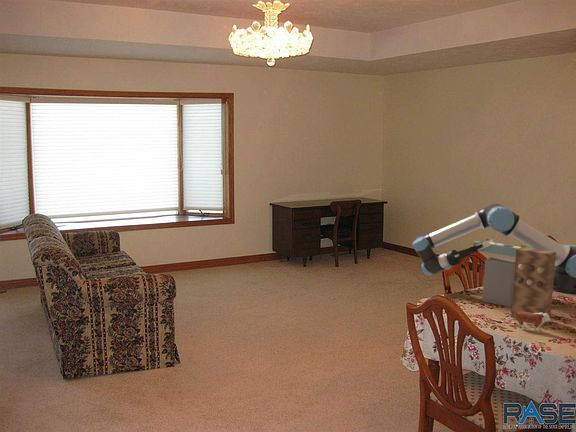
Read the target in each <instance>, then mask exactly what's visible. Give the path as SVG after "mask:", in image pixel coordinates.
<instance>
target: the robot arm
mask: <svg viewBox="0 0 576 432" xmlns="http://www.w3.org/2000/svg"><path fill="white" fill-rule="evenodd" d="M487 228H490V229H491V230H494V231H496V232H497V233H498V232H499V233H501V234H502V235H504V236H505V237H512V238H514V239H516V240H517V241H520V242H521V243H523V244H524V245H526V246H528V248H533V249H539V250H546V251H552V252H556V258H555V270H554V281H553V291H556V292H559V293H565V294H576V245H575V244H561V243H559V242H558V241H556V240H554V239H553V238H552V237H549V236H547V235H545V234H544V233H542V232H541V231H539V230H537V229H536V228H534V227H532V226H531V225H529V224H528V223H526V222H524V221H522V219H521V216H520V215H518V214H517V213H515V212H513V210H511V209H509V208H507V207H506V206H504V205H503V204H500V203H493V204H490V205H487V206H485V207H484V208H481V209H479V210H477V211H475V212H474V214H472V215H469V216H467V217H466V218H465V217H464V218H463V219H461V220H458V221H456V222H454V223H451V224H449V225H447V226H444V227H442V228H440V229H437V230H435V231H433V232H430V233H428V234H425V235H420V236H418V237H417V238H416V239H415V240H414V241H413V242H412V244H411V245H412V247H413V248H414V251H415V252H416V254H417V255H418V256H419V258H420V260H421V261H422V263H421V270H422V273H423V274H424V275H425V276H428V277H429V276H430V277H431V276H433V275H436V274H439V273H441V272H443V271H446V270H448V271H449V270H450V268H452V267H453V268H454V267H455V266H458V265H460V264H461V262H462V259H466V258H468V257H469V256H471V255H472V254H475V253H479V251H477V249H478V250H481V249H483V248H486V247H488V246H491V245H490V243H489V242H492V243H495V241H494V239H493V238H491V239H489V240H486V241H485V240H484V241H485V242H482V243H480V244H478V245H476V246H474V245H473V246H470V247H469V248H466V249H462V250H458V251H457V250H455V249H452V250H449V251H447V252H445V253H442V254H439V255H438V256H437V254H436V252H435V251H434V248H436V247H438V246H442V245H443V244H445V243H448V242H450V241H453V240H455V239H458V238H460V237H462V236H465V235H467V234H470V233H471V232H474V231H476V230H479V229H482V230H485V229H487Z"/></svg>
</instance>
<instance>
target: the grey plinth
mask: <svg viewBox="0 0 576 432" xmlns="http://www.w3.org/2000/svg"><path fill="white" fill-rule="evenodd" d="M514 273H515V260H512V259H506V258H501V257H495V256H492V257H489V258H486V259H485V260H484V273H483V274H484V275H483V288H482V302H486V303H488V304H489V303H490V304H493V305H494V304H495V305H498V306H504V307H507V308H510V307H512V298H513V286H514Z"/></svg>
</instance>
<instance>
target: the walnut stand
mask: <svg viewBox="0 0 576 432" xmlns="http://www.w3.org/2000/svg"><path fill="white" fill-rule="evenodd" d="M520 247H521V248H519V249H516V257H515V260H514V261H515V273H514V286H513V298H512V306H511V315H510V318H512V319H516V312H517V311H522V312H529V313H547V314H548V315H549V318H550V319H551V314H552V302H553V291H554V290H553V281H554V270H555V258H556V252H552V251H546V250H539V249H533V248H531V247H525V246H520ZM517 319H518V317H517ZM517 319H516V320H517ZM549 322H550V321H547V322H544V323H543V324H542V325H543V326H544V325H546V324H547V323H549ZM542 325H541V326H542Z"/></svg>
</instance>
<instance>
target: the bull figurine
mask: <svg viewBox="0 0 576 432" xmlns="http://www.w3.org/2000/svg"><path fill="white" fill-rule="evenodd" d="M517 317H518V319H517ZM515 320H516V321H517V326H518V327H519V328H521V330H523V331H526V328H525V325H524V322H525V323H526V325H528V326H529V325H530V324H534V329H533V331H534V332H536V333H537V332H538V331H540V332H541V331H542V329H541V326H542V324H543V323H544V322H547V321H549V322H551V317H550V318H549V315H548V314H547V313H529V312H522V311H517V312H516V318H515Z"/></svg>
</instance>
